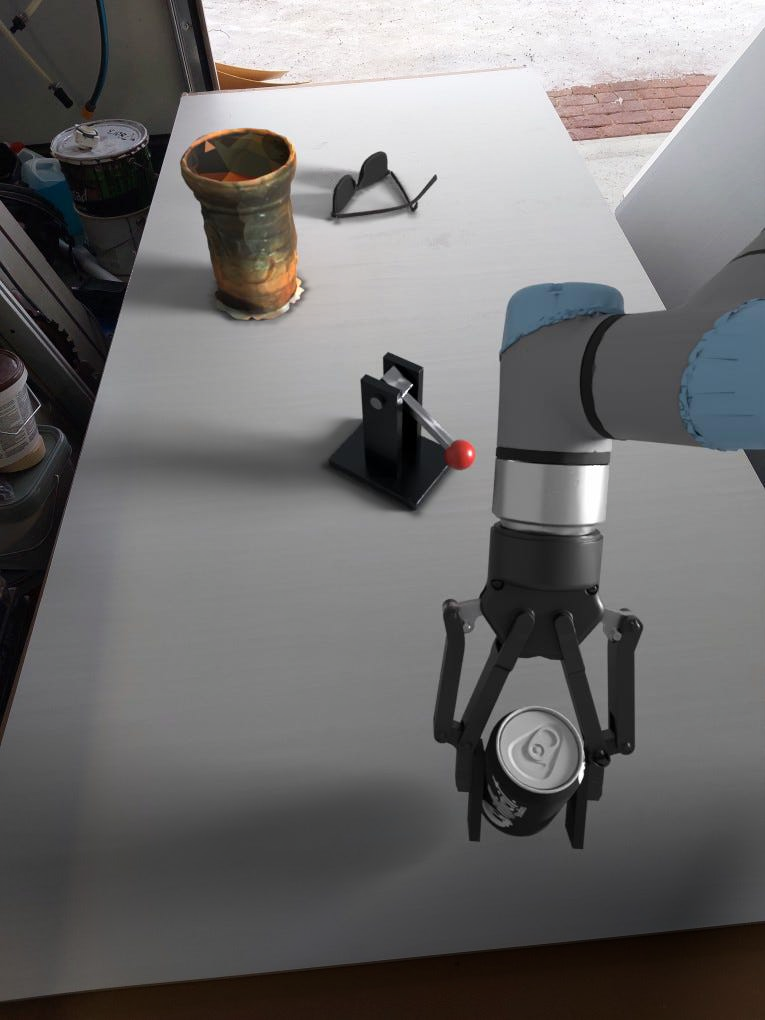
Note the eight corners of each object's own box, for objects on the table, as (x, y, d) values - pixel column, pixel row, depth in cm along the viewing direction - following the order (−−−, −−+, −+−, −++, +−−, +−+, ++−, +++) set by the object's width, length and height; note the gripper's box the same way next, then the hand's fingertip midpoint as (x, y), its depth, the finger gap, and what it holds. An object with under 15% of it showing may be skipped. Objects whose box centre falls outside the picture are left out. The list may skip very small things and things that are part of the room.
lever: (469, 460, 74) (486, 450, 72) (454, 480, 73) (471, 470, 70) (384, 374, 73) (398, 360, 70) (367, 392, 71) (380, 378, 68)
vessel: (332, 284, 101) (319, 144, 85) (266, 335, 94) (239, 194, 78) (260, 251, 106) (235, 114, 90) (192, 298, 100) (153, 158, 84)
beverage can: (456, 795, 55) (469, 748, 46) (508, 736, 58) (530, 680, 48) (522, 858, 52) (550, 822, 43) (573, 794, 55) (610, 746, 46)
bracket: (457, 459, 80) (466, 369, 69) (415, 511, 76) (418, 424, 65) (372, 418, 85) (368, 328, 73) (328, 465, 80) (317, 376, 69)
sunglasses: (400, 243, 107) (401, 213, 103) (325, 217, 112) (322, 187, 108) (453, 194, 115) (455, 164, 111) (381, 172, 120) (380, 142, 116)
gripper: (673, 521, 50) (643, 813, 54) (404, 508, 51) (392, 795, 55) (716, 541, 43) (678, 878, 46) (401, 526, 44) (387, 856, 47)
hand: (523, 833), depth 50 cm, fingers closed on beverage can, 7 cm apart
